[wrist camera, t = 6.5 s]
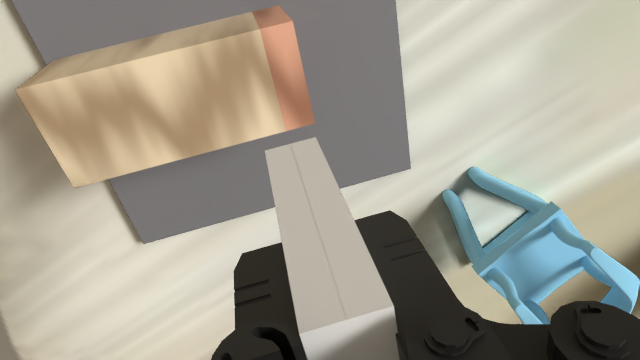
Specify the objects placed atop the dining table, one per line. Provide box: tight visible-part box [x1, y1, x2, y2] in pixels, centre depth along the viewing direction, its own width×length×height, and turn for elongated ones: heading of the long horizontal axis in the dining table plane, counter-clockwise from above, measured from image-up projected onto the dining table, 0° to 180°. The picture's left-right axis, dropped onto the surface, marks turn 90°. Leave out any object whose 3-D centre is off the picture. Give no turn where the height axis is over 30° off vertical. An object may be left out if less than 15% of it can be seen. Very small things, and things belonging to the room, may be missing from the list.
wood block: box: [15, 5, 315, 188], centre depth 22 cm, size 5×5×12 cm
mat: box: [11, 0, 411, 244], centre depth 24 cm, size 20×19×1 cm
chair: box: [442, 167, 640, 324], centre depth 29 cm, size 8×8×12 cm
